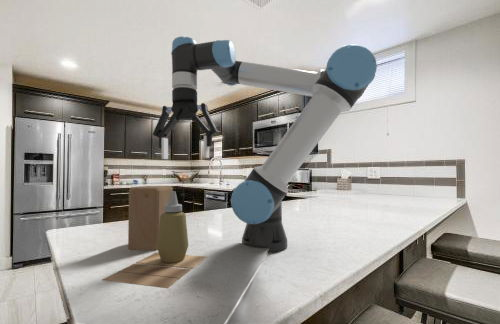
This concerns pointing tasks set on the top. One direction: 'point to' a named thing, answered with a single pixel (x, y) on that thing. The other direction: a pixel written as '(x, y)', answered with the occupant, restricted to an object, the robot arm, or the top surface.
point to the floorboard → (148, 275)
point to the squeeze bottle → (172, 232)
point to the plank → (187, 262)
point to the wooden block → (146, 215)
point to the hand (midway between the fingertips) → (185, 158)
